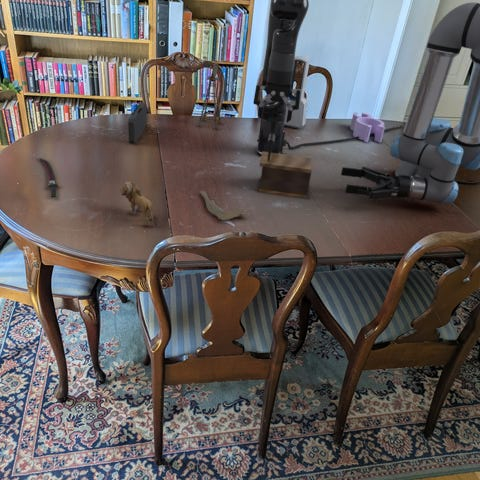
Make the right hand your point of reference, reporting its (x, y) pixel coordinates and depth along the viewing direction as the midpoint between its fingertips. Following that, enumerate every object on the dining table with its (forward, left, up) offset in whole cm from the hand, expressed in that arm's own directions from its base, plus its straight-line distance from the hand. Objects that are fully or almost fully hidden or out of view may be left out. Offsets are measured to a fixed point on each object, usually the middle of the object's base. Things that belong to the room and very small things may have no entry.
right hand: (343, 179), depth 155 cm
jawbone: (+41, 0, -7) cm, 42 cm away
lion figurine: (+68, +2, -7) cm, 68 cm away
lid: (+17, -10, +2) cm, 20 cm away
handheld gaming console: (+59, -63, -7) cm, 87 cm away
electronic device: (-12, -70, -7) cm, 71 cm away
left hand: (+23, -12, +16) cm, 31 cm away
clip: (-43, -56, -7) cm, 71 cm away
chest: (+17, -9, -7) cm, 21 cm away
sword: (+93, -27, -7) cm, 97 cm away
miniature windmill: (+26, -73, -7) cm, 78 cm away
